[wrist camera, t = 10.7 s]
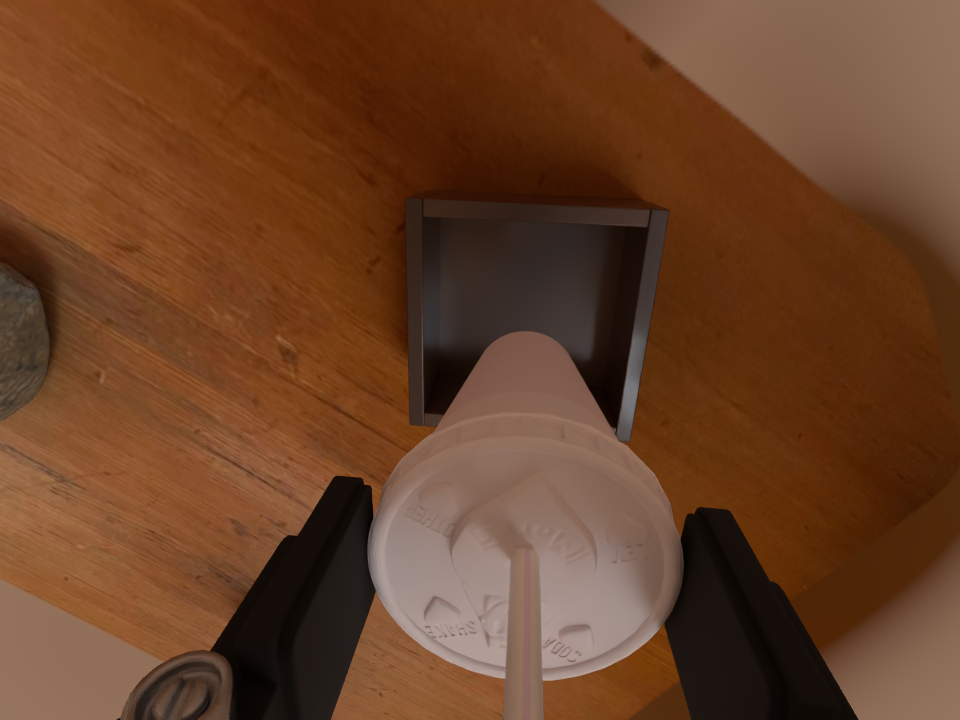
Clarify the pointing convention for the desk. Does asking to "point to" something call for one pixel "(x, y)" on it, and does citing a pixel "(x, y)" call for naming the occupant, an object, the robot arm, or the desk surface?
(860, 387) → the desk surface
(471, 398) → the smoothie
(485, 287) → the holder
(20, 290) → the stone
